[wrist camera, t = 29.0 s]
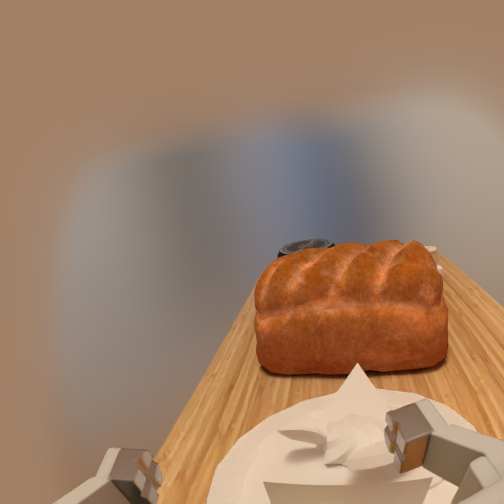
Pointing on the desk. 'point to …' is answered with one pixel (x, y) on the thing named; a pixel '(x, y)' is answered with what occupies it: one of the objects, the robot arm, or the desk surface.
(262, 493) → the dish
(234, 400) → the desk surface
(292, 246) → the container
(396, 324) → the bread
